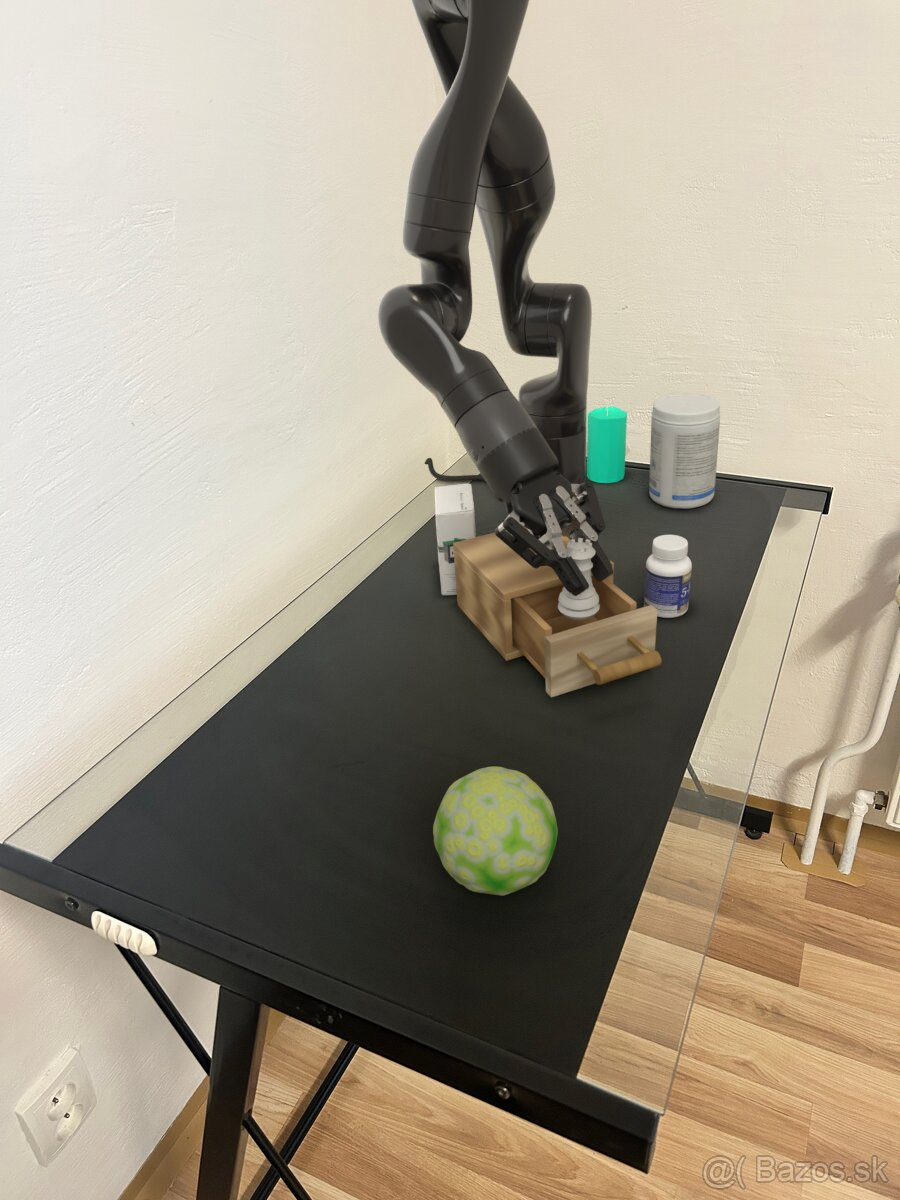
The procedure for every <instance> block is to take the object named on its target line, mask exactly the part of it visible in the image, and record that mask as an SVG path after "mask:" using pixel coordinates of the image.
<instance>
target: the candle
mask: <svg viewBox="0 0 900 1200" xmlns="http://www.w3.org/2000/svg"><path fill="white" fill-rule="evenodd" d="M627 419H628V411H625V410H623V409H621V408H619V407H617V406H609V403H608V402H607V403H606V406H604V407H597V408H594V409H592V410H591V411H589V412H588V413H587V431H586V478H588V480H590V481H591V482H595V483H598V484H611V483H618V482H620V481H622V480H624V478H625V475H626V474H625V473H626V447H627V446H626V445H627V423H628V422H627V421H628V420H627Z"/></svg>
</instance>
